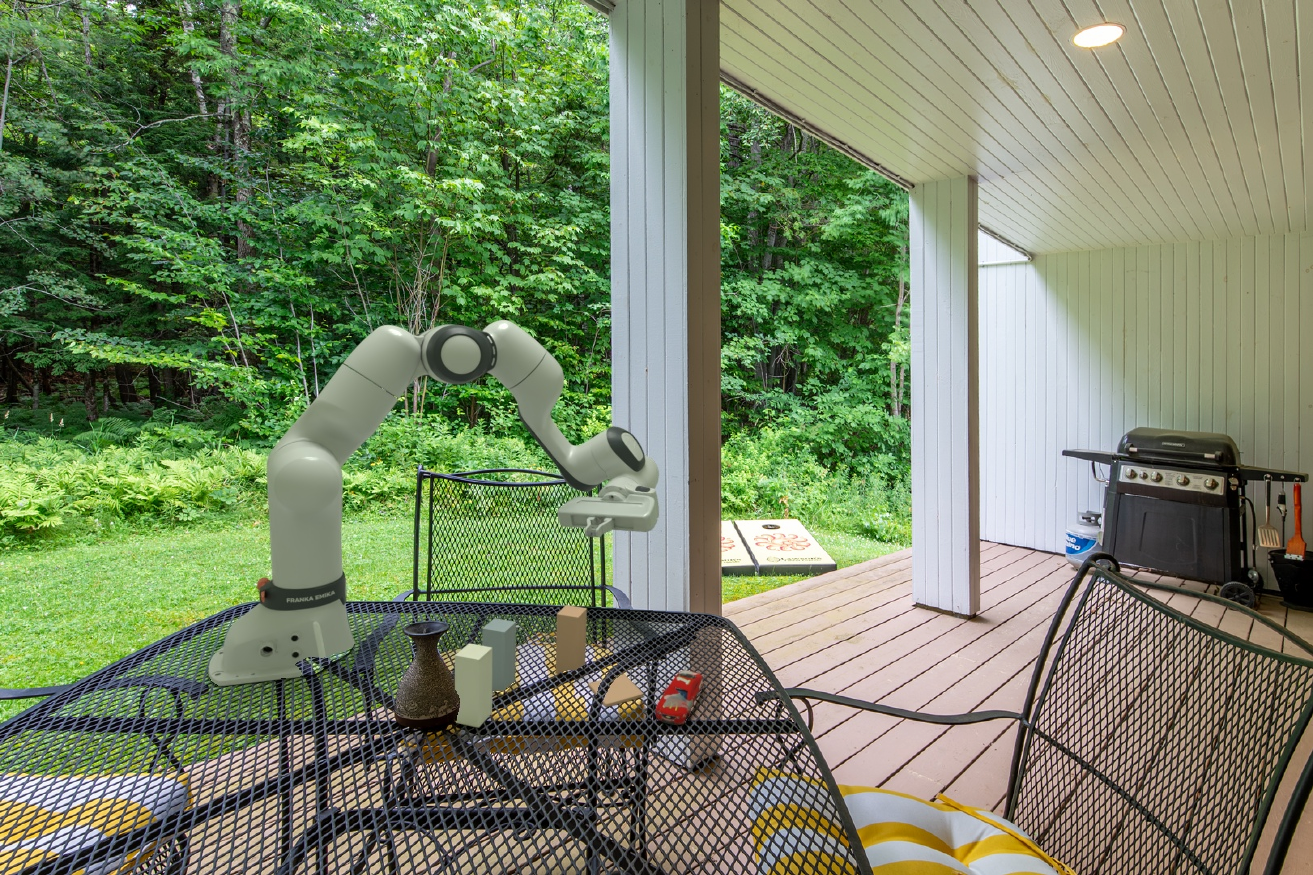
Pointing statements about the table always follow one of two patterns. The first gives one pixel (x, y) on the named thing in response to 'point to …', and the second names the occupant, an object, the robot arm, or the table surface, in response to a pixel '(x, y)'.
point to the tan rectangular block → (571, 638)
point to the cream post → (474, 684)
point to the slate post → (501, 651)
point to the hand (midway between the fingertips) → (591, 533)
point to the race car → (679, 698)
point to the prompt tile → (618, 691)
